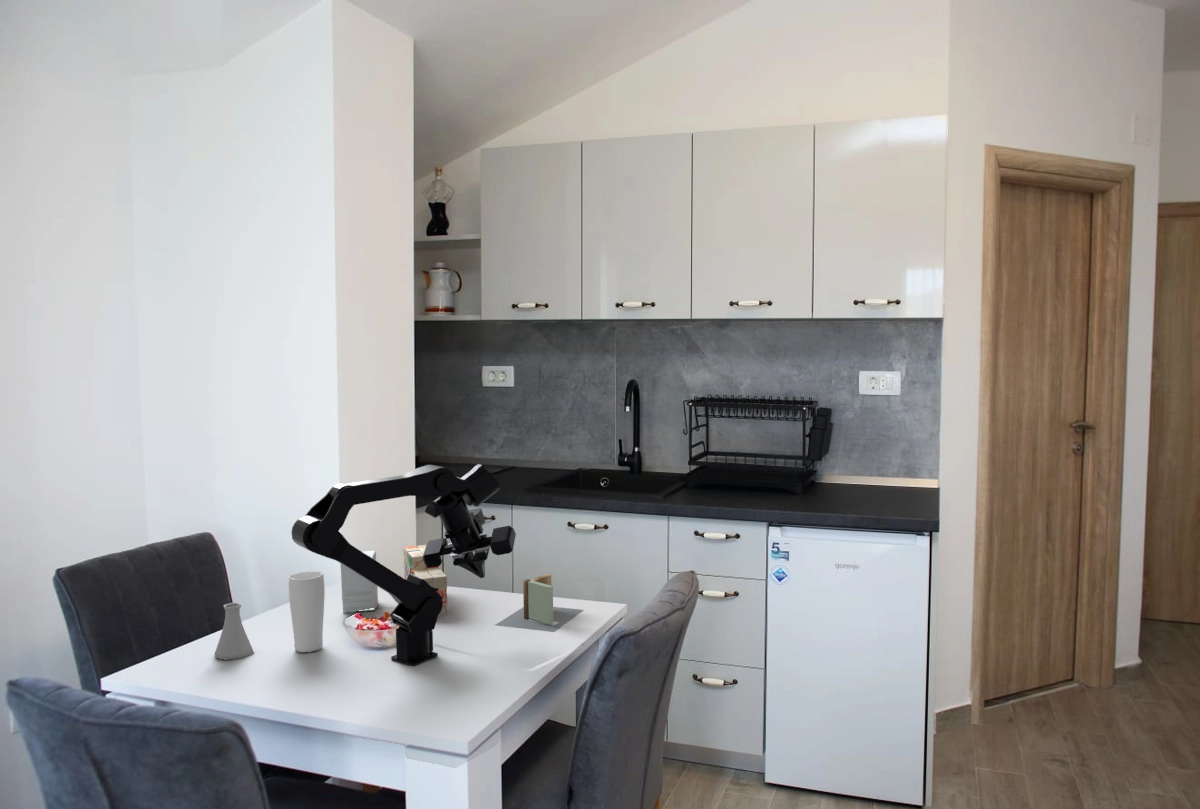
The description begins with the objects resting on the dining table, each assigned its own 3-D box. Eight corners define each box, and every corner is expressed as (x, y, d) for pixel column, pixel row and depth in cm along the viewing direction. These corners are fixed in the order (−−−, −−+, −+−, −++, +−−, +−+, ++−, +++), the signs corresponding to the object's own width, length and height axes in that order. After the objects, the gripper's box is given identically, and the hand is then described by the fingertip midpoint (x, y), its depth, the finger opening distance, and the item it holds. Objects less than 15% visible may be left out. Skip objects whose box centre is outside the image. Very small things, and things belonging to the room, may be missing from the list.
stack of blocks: (448, 616, 190) (446, 562, 189) (419, 620, 187) (418, 565, 187) (430, 592, 209) (428, 543, 209) (404, 595, 207) (402, 546, 206)
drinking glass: (298, 657, 165) (295, 581, 164) (285, 648, 170) (282, 575, 169) (332, 649, 169) (329, 575, 168) (318, 640, 174) (315, 569, 173)
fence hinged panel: (528, 617, 185) (527, 581, 184) (532, 616, 185) (532, 580, 185) (549, 624, 180) (548, 587, 179) (553, 623, 181) (552, 586, 180)
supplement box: (378, 602, 201) (377, 549, 201) (374, 611, 194) (373, 557, 193) (346, 604, 200) (344, 551, 200) (341, 613, 193) (339, 558, 192)
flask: (208, 655, 167) (205, 605, 166) (244, 645, 172) (242, 597, 172) (223, 664, 162) (221, 612, 162) (260, 653, 167) (258, 604, 167)
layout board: (554, 633, 176) (554, 631, 176) (494, 626, 181) (494, 624, 181) (583, 611, 191) (583, 609, 191) (528, 605, 196) (528, 603, 196)
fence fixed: (528, 619, 185) (527, 581, 184) (522, 618, 186) (521, 580, 185) (552, 609, 192) (551, 573, 191) (547, 608, 193) (546, 572, 192)
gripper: (506, 486, 174) (529, 542, 182) (422, 502, 177) (448, 557, 185) (498, 521, 164) (523, 579, 172) (410, 538, 168) (438, 594, 175)
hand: (483, 576), depth 176 cm, fingers closed
